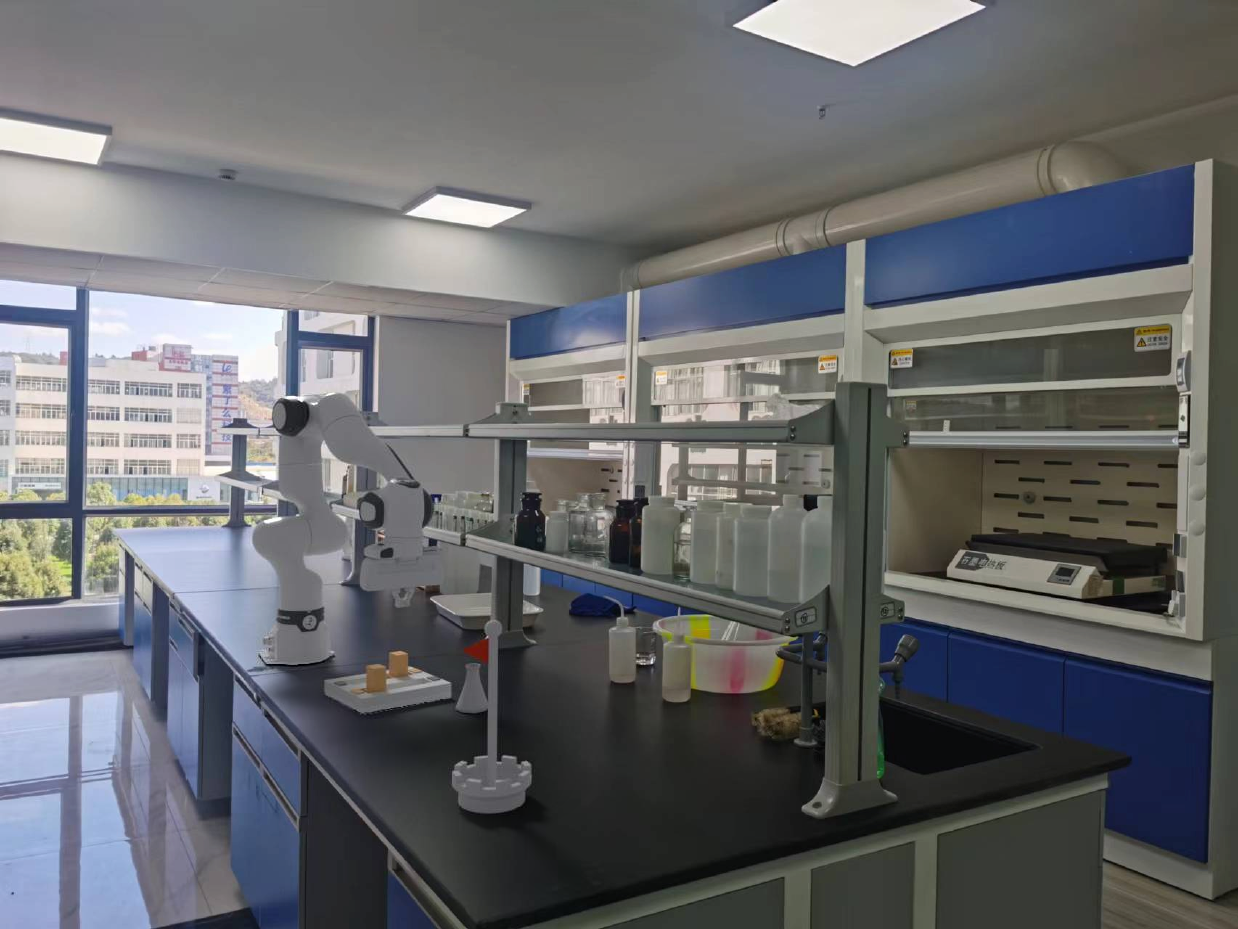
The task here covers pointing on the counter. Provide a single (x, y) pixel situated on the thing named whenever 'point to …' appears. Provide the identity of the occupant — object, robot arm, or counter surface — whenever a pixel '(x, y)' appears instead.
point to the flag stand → (491, 750)
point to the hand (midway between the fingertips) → (402, 606)
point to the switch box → (388, 691)
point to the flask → (472, 692)
